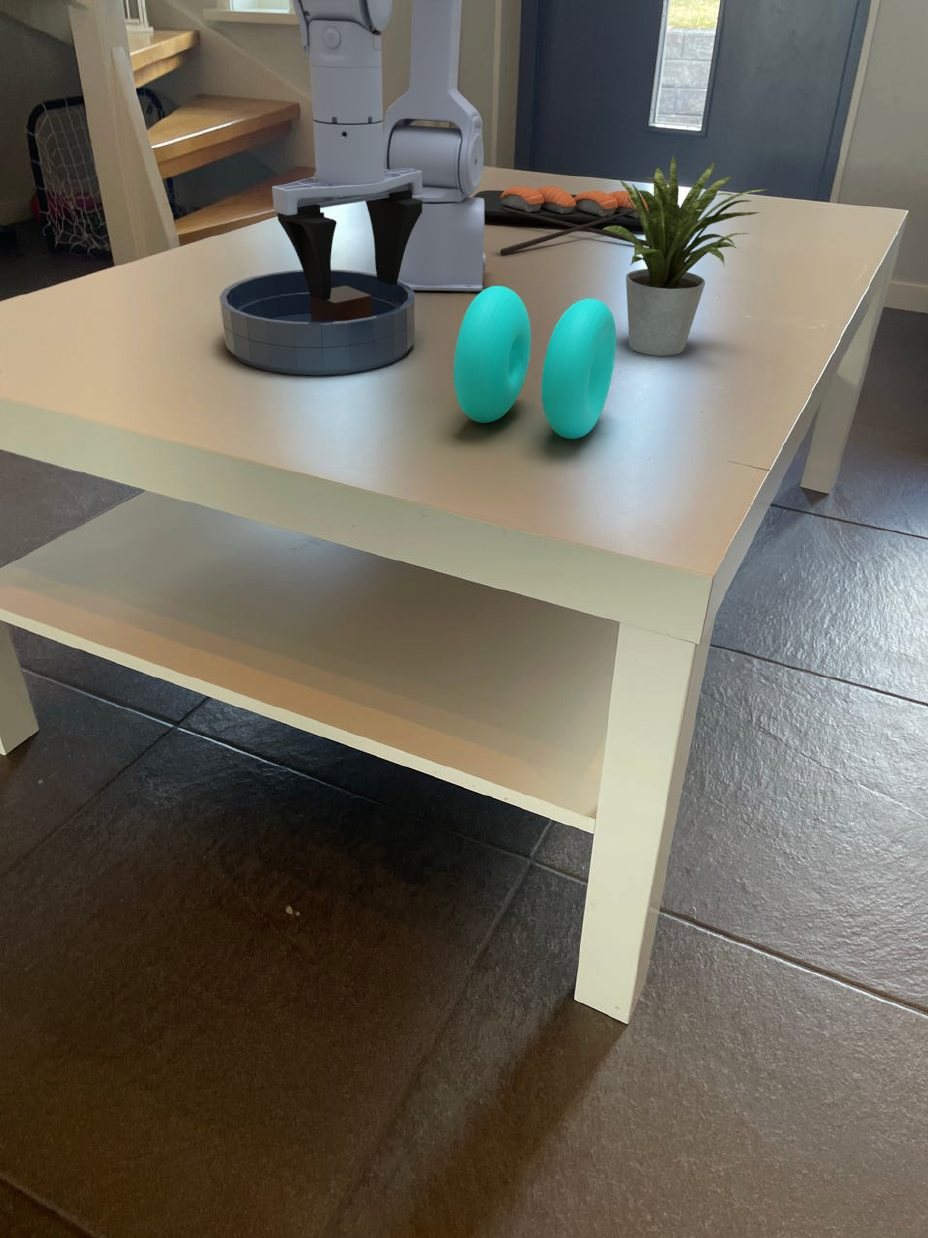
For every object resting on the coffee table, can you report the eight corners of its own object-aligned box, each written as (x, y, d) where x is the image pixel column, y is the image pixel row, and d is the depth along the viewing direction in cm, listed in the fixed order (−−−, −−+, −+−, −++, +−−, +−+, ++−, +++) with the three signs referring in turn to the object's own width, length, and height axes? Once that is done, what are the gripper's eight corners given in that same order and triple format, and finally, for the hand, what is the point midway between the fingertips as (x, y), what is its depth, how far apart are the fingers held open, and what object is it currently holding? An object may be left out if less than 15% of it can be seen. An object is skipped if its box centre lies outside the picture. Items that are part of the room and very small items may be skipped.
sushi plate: (678, 214, 140) (681, 186, 138) (679, 266, 116) (684, 232, 114) (478, 202, 144) (479, 174, 142) (439, 250, 120) (439, 217, 118)
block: (347, 328, 92) (345, 285, 90) (372, 339, 89) (371, 295, 87) (311, 336, 90) (309, 292, 88) (336, 347, 87) (334, 302, 85)
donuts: (494, 394, 80) (499, 269, 75) (612, 414, 77) (626, 286, 72) (446, 438, 73) (448, 302, 67) (574, 462, 70) (588, 323, 64)
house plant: (700, 389, 82) (734, 181, 73) (554, 357, 88) (570, 160, 79) (754, 345, 93) (790, 156, 83) (620, 318, 98) (640, 139, 89)
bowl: (416, 317, 97) (416, 270, 95) (412, 378, 83) (412, 325, 81) (242, 314, 97) (238, 267, 94) (208, 375, 83) (202, 322, 80)
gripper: (384, 108, 86) (388, 266, 94) (244, 120, 78) (260, 293, 85) (438, 117, 82) (437, 282, 90) (297, 131, 74) (309, 312, 81)
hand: (354, 289), depth 87 cm, fingers open, 7 cm apart
